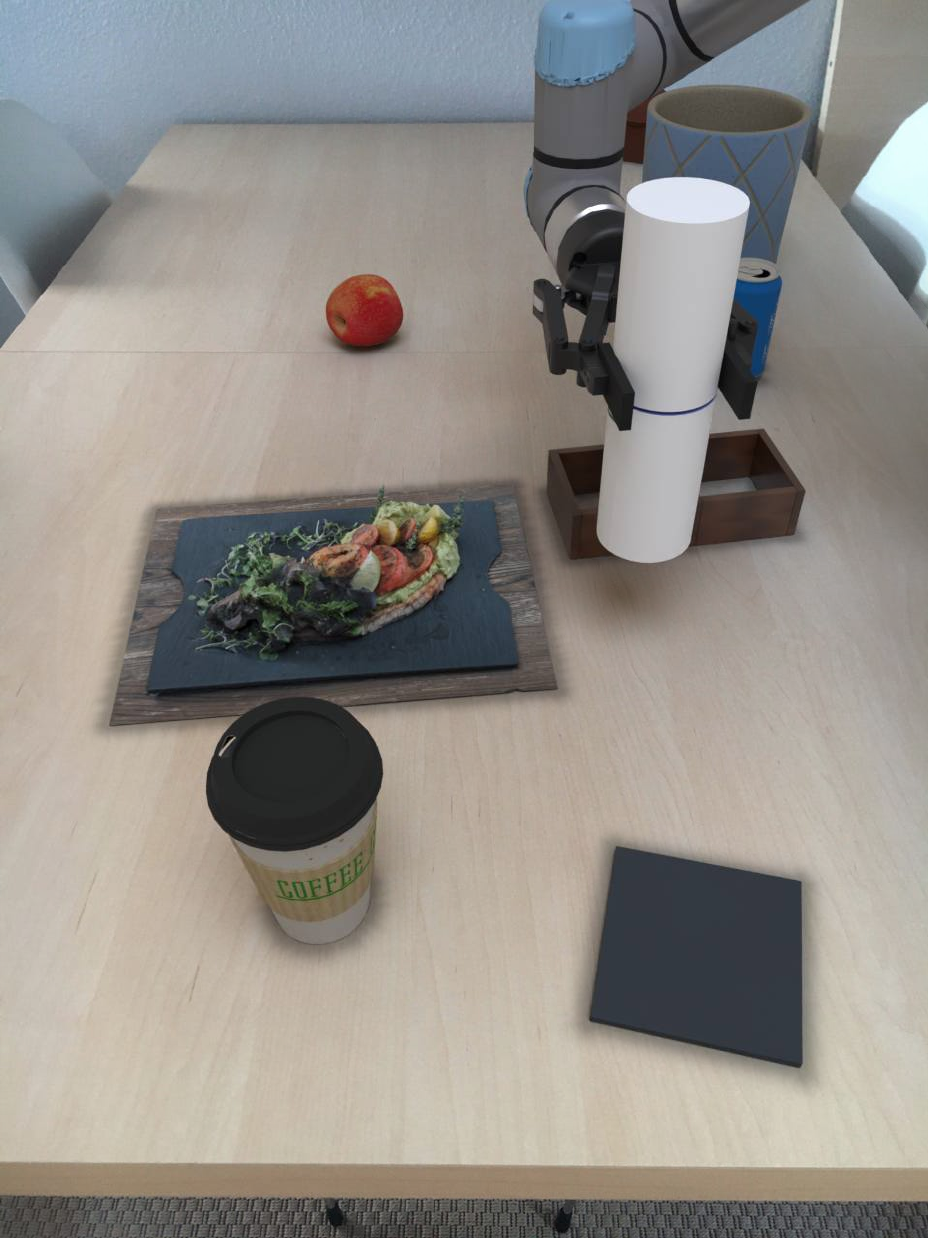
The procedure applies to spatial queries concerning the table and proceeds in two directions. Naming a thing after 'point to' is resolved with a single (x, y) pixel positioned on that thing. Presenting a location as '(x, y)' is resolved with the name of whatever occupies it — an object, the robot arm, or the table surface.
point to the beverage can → (759, 302)
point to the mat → (702, 956)
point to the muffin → (636, 132)
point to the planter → (732, 150)
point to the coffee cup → (301, 811)
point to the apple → (364, 310)
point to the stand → (715, 514)
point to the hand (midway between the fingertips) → (687, 406)
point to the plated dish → (333, 604)
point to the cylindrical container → (668, 359)
